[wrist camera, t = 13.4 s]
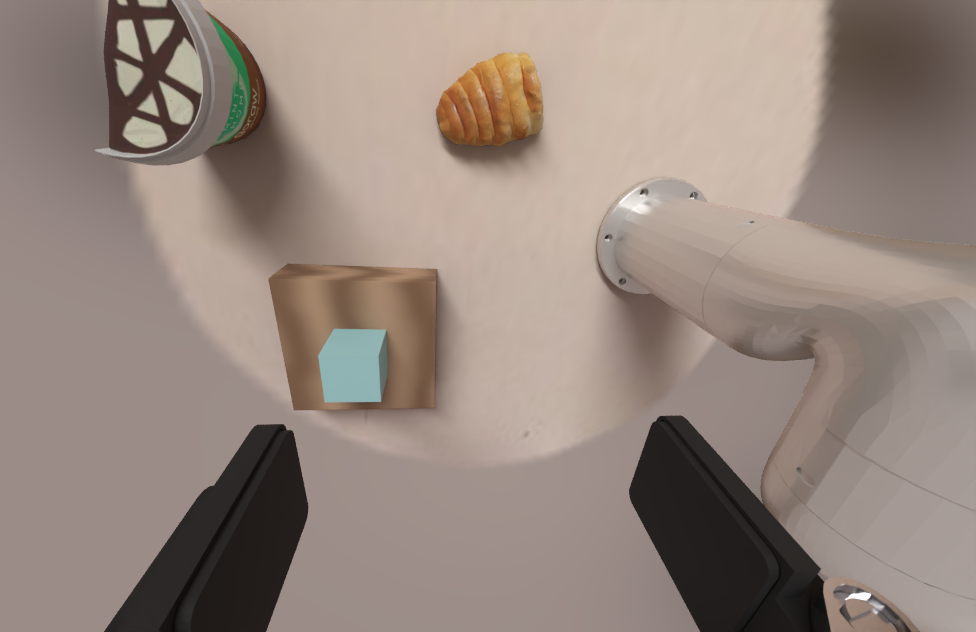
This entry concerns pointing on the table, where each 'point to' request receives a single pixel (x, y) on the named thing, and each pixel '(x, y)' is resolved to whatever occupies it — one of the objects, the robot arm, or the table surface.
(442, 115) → the pastry
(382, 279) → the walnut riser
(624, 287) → the robot arm
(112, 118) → the food container
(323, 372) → the teal cube
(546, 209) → the table surface
